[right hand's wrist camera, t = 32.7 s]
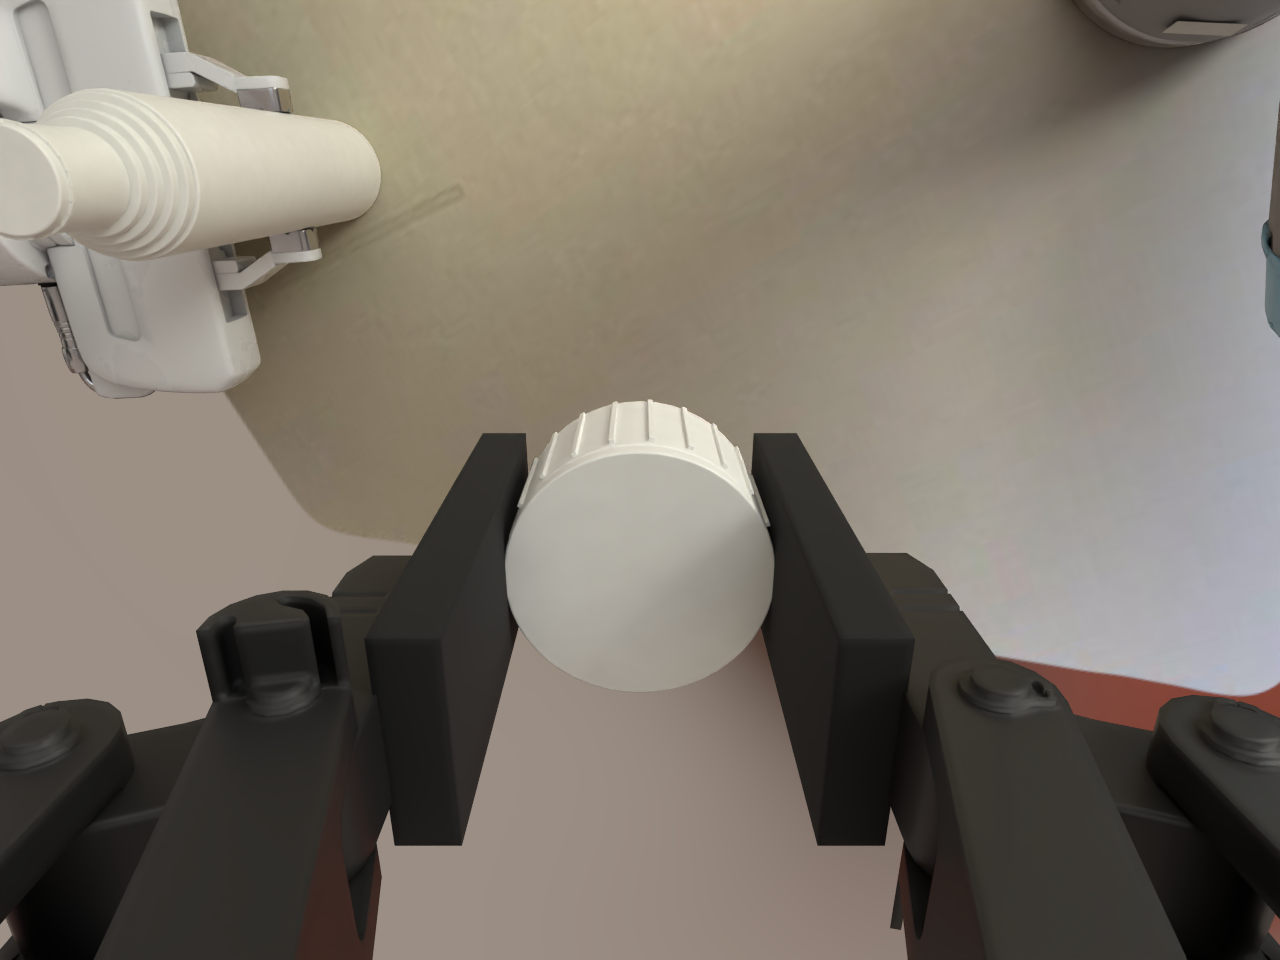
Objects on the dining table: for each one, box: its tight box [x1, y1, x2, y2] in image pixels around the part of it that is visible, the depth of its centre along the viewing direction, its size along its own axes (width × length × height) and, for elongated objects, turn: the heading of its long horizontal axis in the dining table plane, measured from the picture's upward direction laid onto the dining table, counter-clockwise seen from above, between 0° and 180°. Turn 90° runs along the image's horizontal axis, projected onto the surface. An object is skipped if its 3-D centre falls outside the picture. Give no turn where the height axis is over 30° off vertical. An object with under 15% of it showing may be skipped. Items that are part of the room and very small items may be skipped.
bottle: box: [0, 88, 381, 261], centre depth 32 cm, size 5×5×24 cm
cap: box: [505, 400, 775, 692], centre depth 13 cm, size 4×4×3 cm
